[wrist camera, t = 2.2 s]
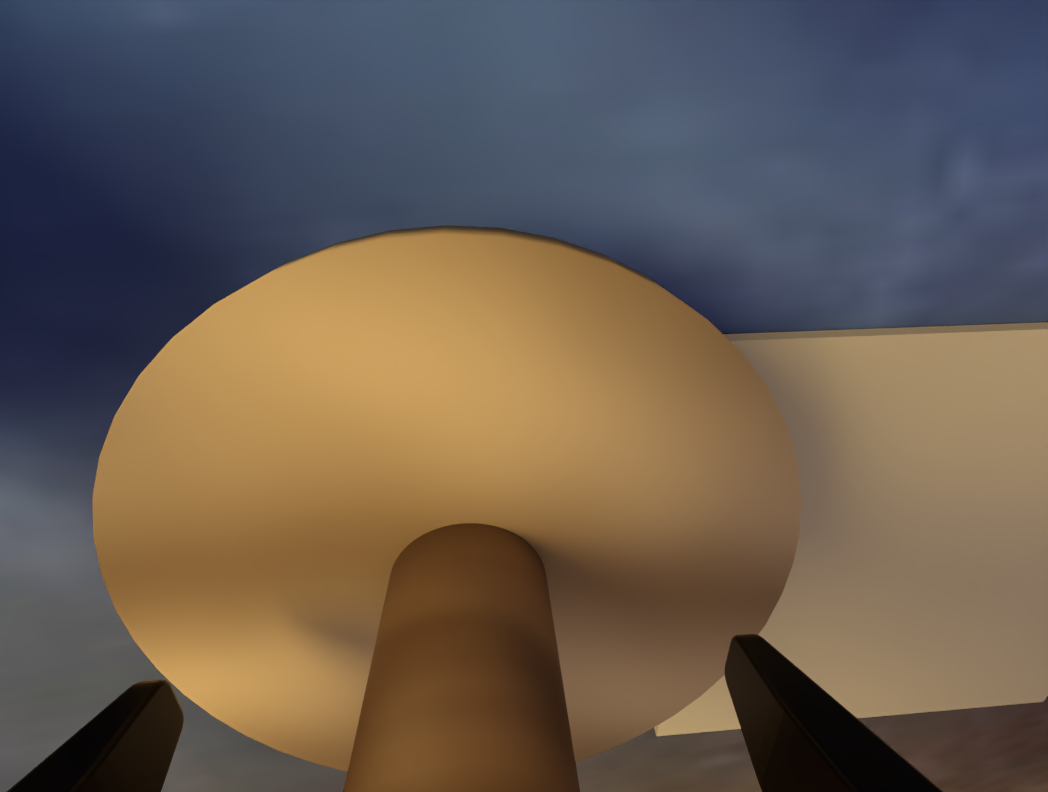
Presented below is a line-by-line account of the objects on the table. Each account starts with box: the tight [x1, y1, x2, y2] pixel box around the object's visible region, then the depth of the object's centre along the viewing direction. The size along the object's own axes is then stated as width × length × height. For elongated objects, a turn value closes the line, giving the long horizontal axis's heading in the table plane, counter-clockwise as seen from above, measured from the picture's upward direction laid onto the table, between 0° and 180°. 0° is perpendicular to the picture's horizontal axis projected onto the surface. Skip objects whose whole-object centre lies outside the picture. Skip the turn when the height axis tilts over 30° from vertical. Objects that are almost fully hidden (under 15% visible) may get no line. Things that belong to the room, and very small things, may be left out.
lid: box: [93, 226, 801, 792], centre depth 8 cm, size 13×13×5 cm
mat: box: [654, 322, 1048, 736], centre depth 16 cm, size 15×15×1 cm
